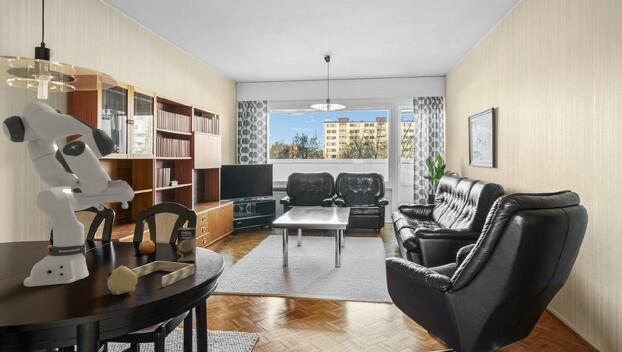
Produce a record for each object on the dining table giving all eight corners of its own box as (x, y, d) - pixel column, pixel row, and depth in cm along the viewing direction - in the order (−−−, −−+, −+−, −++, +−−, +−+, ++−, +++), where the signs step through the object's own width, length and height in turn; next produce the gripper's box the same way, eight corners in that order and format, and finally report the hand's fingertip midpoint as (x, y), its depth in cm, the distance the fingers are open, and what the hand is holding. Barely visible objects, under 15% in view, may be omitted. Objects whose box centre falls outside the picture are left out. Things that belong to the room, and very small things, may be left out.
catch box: (164, 287, 145) (163, 277, 145) (123, 281, 151) (123, 272, 151) (194, 273, 164) (194, 264, 164) (157, 269, 170) (157, 260, 170)
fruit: (158, 248, 207) (155, 237, 202) (154, 258, 200) (150, 247, 196) (144, 248, 206) (140, 237, 202) (139, 258, 200) (135, 247, 195)
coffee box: (176, 261, 183) (176, 229, 183) (177, 258, 190) (177, 227, 189) (195, 260, 186) (195, 229, 185) (196, 257, 192) (196, 226, 192)
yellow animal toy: (130, 286, 145) (130, 259, 145) (141, 294, 137) (141, 266, 136) (102, 292, 138) (102, 264, 138) (112, 300, 130) (112, 271, 129)
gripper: (128, 173, 133) (143, 200, 142) (73, 178, 134) (91, 204, 143) (121, 185, 128) (137, 212, 137) (65, 190, 129) (84, 216, 138)
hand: (113, 208), depth 140 cm, fingers open, 8 cm apart
